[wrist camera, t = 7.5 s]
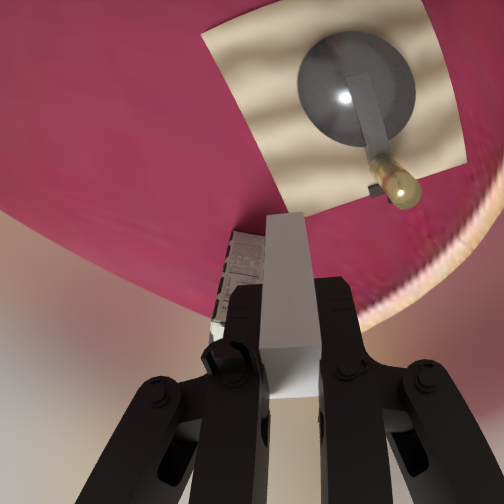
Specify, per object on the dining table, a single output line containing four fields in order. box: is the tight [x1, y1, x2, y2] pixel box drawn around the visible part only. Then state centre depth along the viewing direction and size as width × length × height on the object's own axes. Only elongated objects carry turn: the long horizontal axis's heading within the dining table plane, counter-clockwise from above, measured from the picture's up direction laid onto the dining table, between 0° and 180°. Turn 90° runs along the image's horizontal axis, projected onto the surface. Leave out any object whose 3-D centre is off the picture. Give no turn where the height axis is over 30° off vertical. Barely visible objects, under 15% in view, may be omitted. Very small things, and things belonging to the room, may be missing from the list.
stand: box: [201, 0, 467, 217], centre depth 27 cm, size 24×24×3 cm
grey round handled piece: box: [296, 31, 422, 209], centre depth 24 cm, size 18×12×9 cm, turn 23°
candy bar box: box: [207, 231, 265, 373], centre depth 36 cm, size 11×5×16 cm, turn 172°
